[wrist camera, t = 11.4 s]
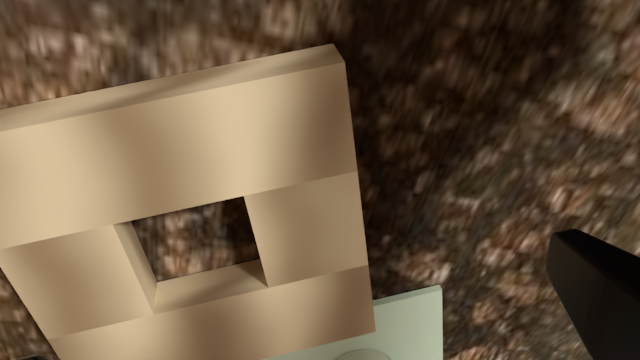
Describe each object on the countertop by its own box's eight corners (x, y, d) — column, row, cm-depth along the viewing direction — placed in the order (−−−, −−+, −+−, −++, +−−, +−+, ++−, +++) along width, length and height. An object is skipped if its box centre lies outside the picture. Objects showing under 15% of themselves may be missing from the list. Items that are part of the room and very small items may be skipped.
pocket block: (332, 43, 20) (344, 61, 18) (365, 302, 28) (376, 331, 26) (-53, 120, 19) (-77, 147, 17) (95, 366, 27) (87, 402, 25)
